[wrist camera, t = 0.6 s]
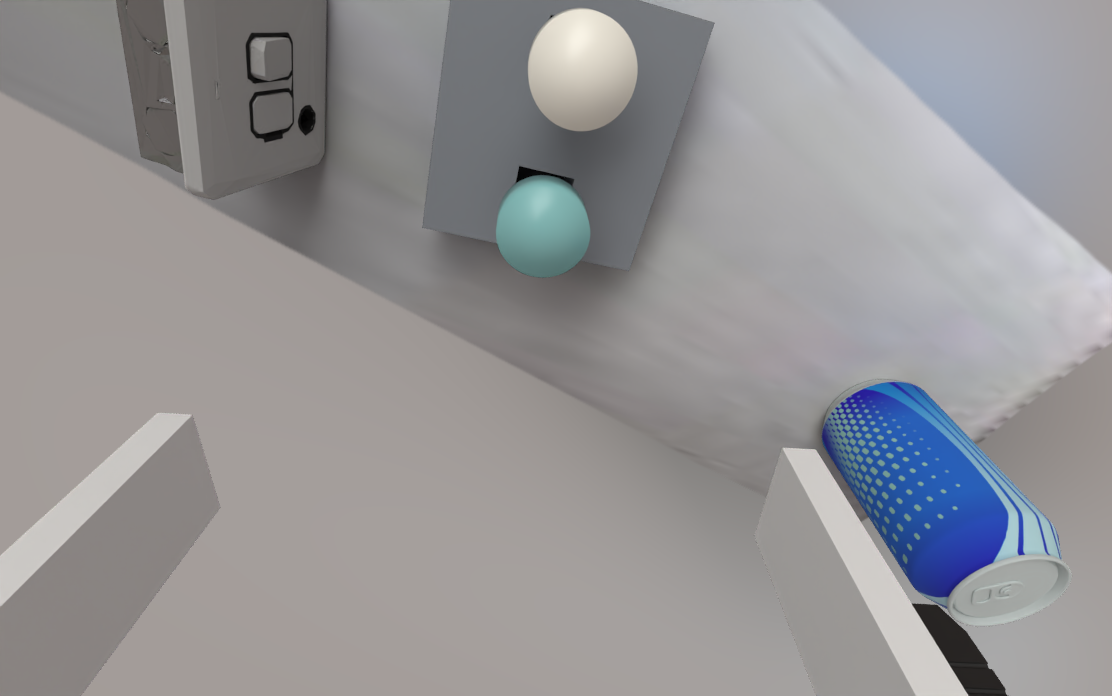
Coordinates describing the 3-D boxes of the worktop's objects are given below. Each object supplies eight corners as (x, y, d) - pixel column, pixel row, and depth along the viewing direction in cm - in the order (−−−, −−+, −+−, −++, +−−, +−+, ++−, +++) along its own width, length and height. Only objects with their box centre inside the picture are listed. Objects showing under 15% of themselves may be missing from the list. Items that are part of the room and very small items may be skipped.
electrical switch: (327, 162, 33) (244, 213, 25) (236, 140, 32) (123, 185, 24) (330, -26, 28) (228, -36, 20) (224, -55, 28) (77, -77, 20)
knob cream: (539, -8, 26) (542, -5, 21) (630, 19, 26) (652, 27, 22) (519, 94, 28) (518, 117, 23) (603, 115, 29) (618, 142, 24)
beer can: (858, 358, 42) (1012, 533, 29) (944, 387, 44) (1124, 564, 31) (794, 437, 47) (902, 622, 33) (874, 461, 49) (1007, 644, 35)
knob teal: (508, 146, 29) (505, 178, 25) (590, 166, 30) (601, 200, 26) (493, 225, 32) (488, 267, 27) (569, 241, 32) (576, 285, 28)
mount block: (465, -50, 28) (457, -54, 24) (693, 17, 30) (714, 22, 26) (432, 203, 34) (422, 227, 31) (619, 244, 36) (628, 271, 33)
